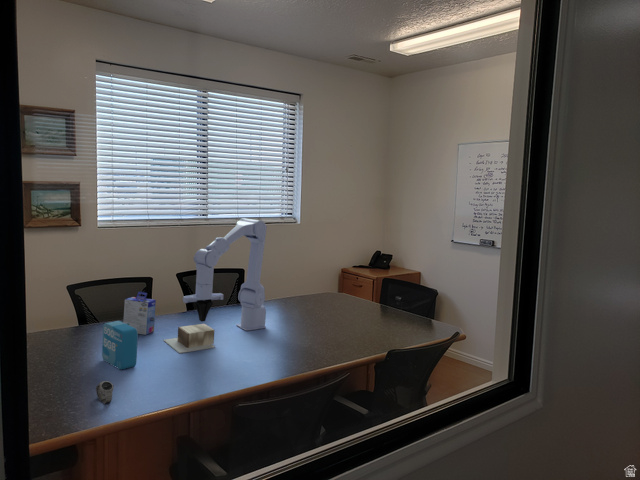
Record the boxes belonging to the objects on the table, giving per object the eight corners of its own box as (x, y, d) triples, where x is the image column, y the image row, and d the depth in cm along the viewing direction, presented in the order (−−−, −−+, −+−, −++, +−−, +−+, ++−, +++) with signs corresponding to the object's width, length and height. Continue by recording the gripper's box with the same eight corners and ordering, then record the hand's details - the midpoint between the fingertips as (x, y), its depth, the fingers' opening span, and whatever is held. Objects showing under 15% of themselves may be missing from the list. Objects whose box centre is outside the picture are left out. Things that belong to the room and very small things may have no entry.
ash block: (204, 323, 171) (178, 327, 165) (214, 329, 165) (187, 333, 159) (203, 336, 172) (177, 340, 166) (213, 343, 166) (186, 347, 160)
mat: (197, 335, 174) (197, 334, 174) (215, 347, 163) (215, 346, 163) (163, 340, 165) (163, 339, 165) (179, 353, 155) (179, 352, 155)
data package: (101, 359, 144) (102, 322, 143) (115, 356, 148) (116, 319, 147) (122, 371, 137) (124, 332, 136) (136, 367, 141) (138, 329, 139)
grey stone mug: (102, 406, 116) (103, 387, 116) (92, 397, 120) (92, 378, 120) (116, 402, 119) (117, 383, 118) (105, 393, 123) (106, 375, 122)
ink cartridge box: (155, 331, 174) (157, 293, 173) (146, 335, 169) (148, 296, 167) (131, 327, 176) (132, 290, 175) (122, 331, 171) (123, 293, 169)
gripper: (217, 279, 172) (215, 315, 174) (180, 282, 163) (178, 319, 165) (227, 283, 167) (224, 320, 169) (188, 286, 158) (186, 325, 159)
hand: (202, 320), depth 166 cm, fingers closed
